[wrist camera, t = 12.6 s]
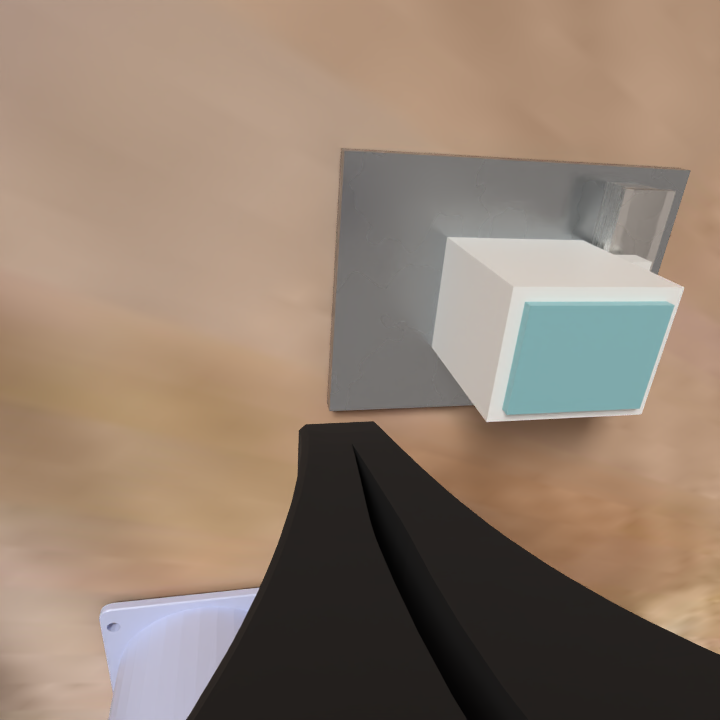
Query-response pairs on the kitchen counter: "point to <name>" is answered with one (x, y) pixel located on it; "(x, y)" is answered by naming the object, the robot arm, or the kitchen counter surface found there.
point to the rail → (632, 219)
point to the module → (551, 327)
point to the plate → (441, 254)
